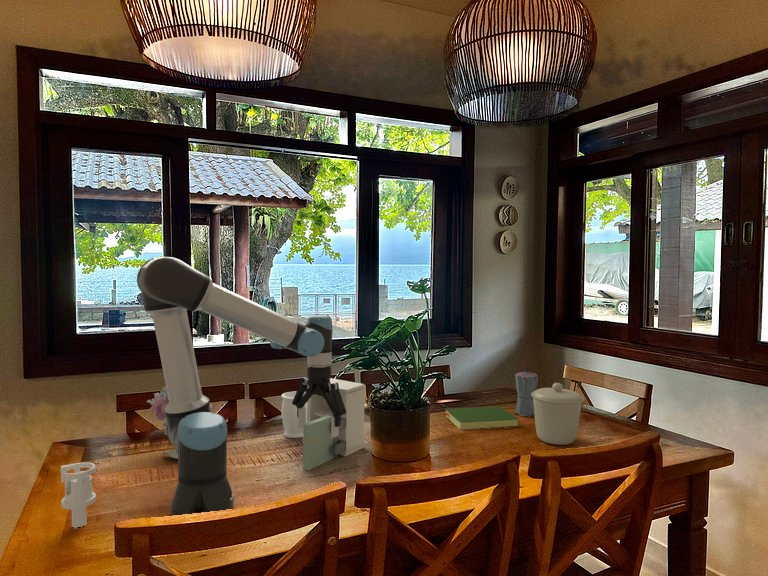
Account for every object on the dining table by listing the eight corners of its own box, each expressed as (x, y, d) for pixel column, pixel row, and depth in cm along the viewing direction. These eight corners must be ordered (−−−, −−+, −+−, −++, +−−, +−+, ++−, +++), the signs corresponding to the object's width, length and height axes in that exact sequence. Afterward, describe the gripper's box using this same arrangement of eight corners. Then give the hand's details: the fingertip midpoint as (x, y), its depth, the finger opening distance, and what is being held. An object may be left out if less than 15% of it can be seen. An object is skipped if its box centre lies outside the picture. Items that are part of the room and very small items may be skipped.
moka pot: (513, 418, 215) (514, 370, 214) (514, 408, 230) (516, 363, 229) (537, 420, 212) (538, 372, 211) (537, 410, 227) (538, 365, 226)
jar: (304, 440, 184) (304, 398, 183) (276, 438, 186) (276, 397, 185) (313, 431, 194) (314, 391, 194) (288, 429, 197) (288, 390, 196)
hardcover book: (498, 414, 222) (498, 405, 222) (518, 428, 203) (518, 418, 203) (442, 417, 217) (443, 408, 217) (458, 431, 198) (458, 421, 198)
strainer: (60, 522, 124) (59, 461, 124) (94, 515, 128) (93, 455, 128) (62, 535, 118) (61, 471, 118) (97, 527, 122) (97, 464, 122)
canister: (519, 436, 192) (521, 380, 191) (555, 429, 200) (557, 375, 199) (556, 452, 176) (558, 391, 175) (593, 444, 184) (595, 386, 183)
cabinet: (334, 462, 165) (334, 393, 164) (294, 450, 174) (295, 385, 173) (364, 447, 178) (364, 384, 177) (325, 437, 187) (326, 377, 186)
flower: (238, 447, 172) (223, 375, 179) (178, 461, 153) (163, 380, 160) (202, 462, 182) (188, 393, 188) (141, 476, 163) (128, 399, 170)
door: (310, 471, 157) (310, 425, 156) (301, 468, 159) (301, 423, 158) (340, 456, 169) (340, 414, 169) (331, 454, 171) (332, 412, 171)
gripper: (358, 368, 158) (357, 437, 159) (298, 358, 172) (297, 421, 173) (343, 372, 152) (341, 443, 152) (281, 361, 165) (280, 427, 166)
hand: (318, 432), depth 162 cm, fingers open, 13 cm apart
